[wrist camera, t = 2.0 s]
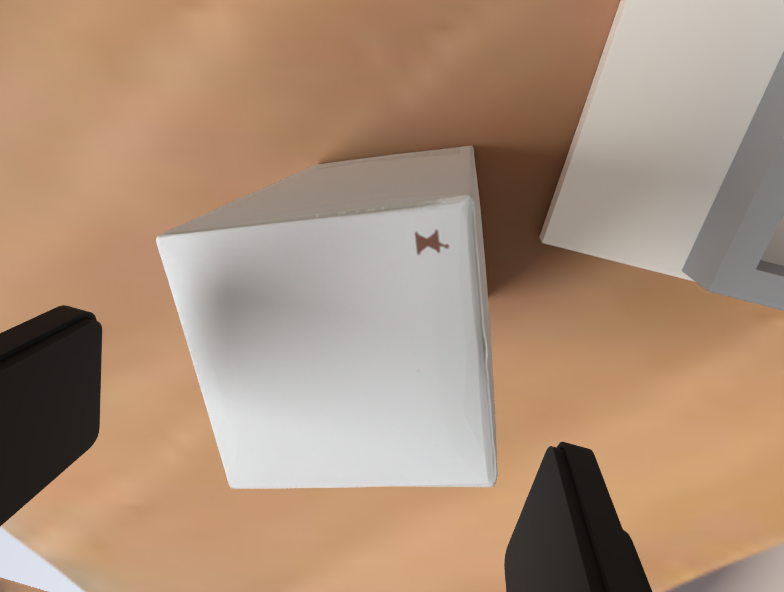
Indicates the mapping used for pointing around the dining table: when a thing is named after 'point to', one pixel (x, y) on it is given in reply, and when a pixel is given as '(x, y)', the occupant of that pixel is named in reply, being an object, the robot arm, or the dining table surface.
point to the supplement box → (344, 325)
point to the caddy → (683, 148)
